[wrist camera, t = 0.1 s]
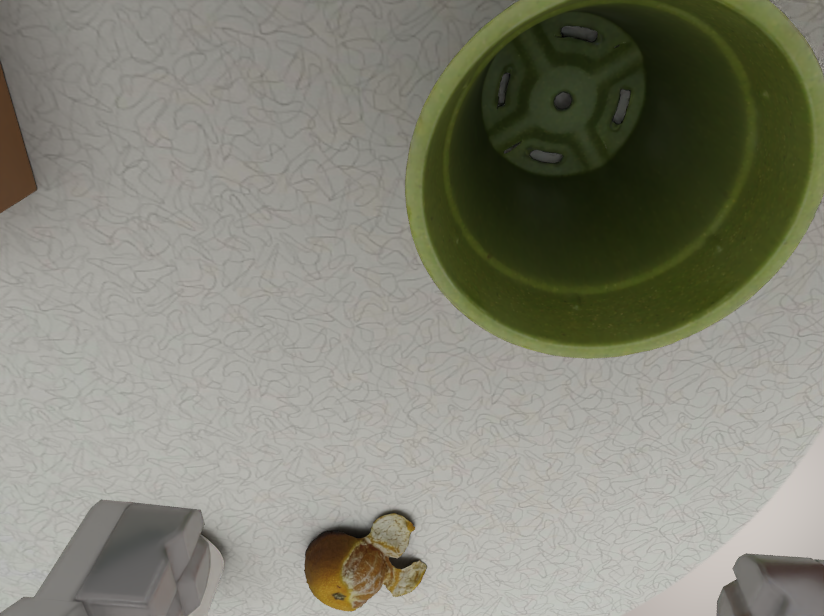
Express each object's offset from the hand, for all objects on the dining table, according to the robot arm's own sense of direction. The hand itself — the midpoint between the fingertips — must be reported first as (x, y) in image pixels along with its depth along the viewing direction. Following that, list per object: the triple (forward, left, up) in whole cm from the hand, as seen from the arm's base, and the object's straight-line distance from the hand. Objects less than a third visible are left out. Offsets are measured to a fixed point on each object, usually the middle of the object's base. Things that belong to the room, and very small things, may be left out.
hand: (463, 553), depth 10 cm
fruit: (+26, +17, -23) cm, 39 cm away
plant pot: (-4, +2, -23) cm, 23 cm away
